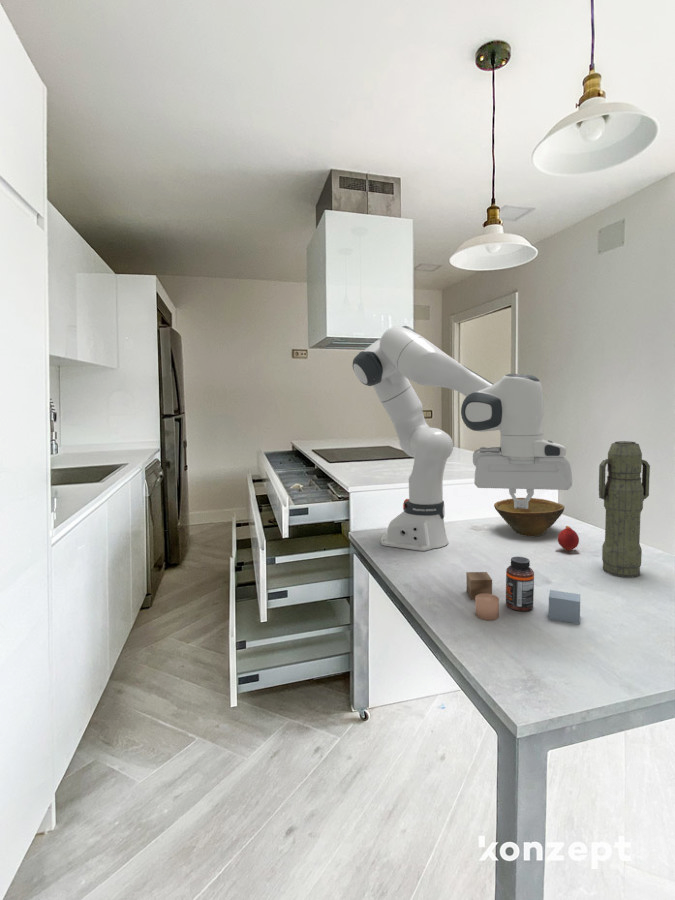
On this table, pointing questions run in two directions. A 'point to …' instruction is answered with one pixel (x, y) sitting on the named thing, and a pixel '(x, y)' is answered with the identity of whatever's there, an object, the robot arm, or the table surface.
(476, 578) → the walnut cube
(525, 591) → the supplement bottle
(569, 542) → the onion
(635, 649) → the table surface
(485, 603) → the peach rounded cylinder
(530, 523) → the bowl
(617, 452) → the thermos
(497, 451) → the robot arm
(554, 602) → the slate block
